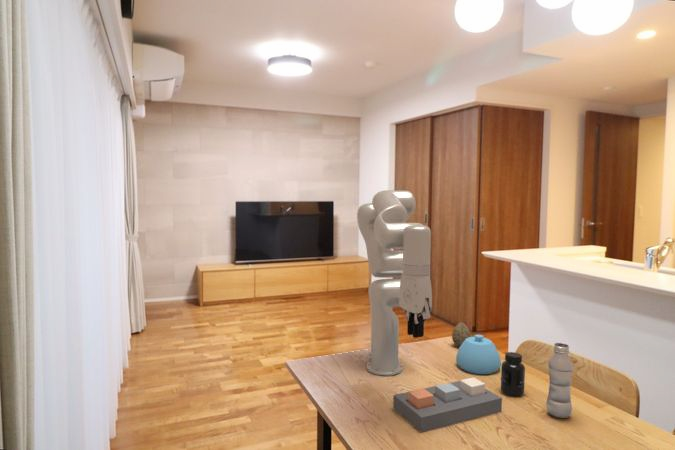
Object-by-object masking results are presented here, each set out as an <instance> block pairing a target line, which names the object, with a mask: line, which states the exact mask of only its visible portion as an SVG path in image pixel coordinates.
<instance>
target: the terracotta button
mask: <svg viewBox="0 0 675 450" xmlns="http://www.w3.org/2000/svg"><path fill="white" fill-rule="evenodd" d="M407 392H408V402H409V403H410V404H411V405H413V406H414V407H415V408H416V409H422V408H426V407H431V406H434V395H432V394H431V393H429V392H428V391H427V390H425V389H424V388H423V387H422V388H418V389H412V390H409V391H407Z"/></svg>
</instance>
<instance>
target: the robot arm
mask: <svg viewBox="0 0 675 450" xmlns="http://www.w3.org/2000/svg"><path fill="white" fill-rule="evenodd" d="M371 201H372V202H368V203H363V204H361V205H360V206H359V207H358V209H357V213H356V217H357V218H356V220H357V225H358V229H359V232H360V234H361V236H362V238H363V240H364V243H365V248H366V256H367V260H368V261H367V262H368V269H369V273H370V274H371V276H373V277H374V278H380V279H376V280H373V281H372V282H371V283H370V284H369V286H368V297H369V304H370V306H369V307H370V352H368V356H370V361H368V362H367V364H366V370H367V371H368V372H369V373H371V374H374V375H377V376H383V377H385V376H387V377H389V376H396V375H398V374H400V373H402V372H403V368H404V366H403V364H402V363H401V362H399V330H400V328H399V327H400V326H399V325H400V321H399V317H398V316H397V314H396V313H395V312H394V311H393V309H392V308H397V307H400V308H401V309H402V310H403V311H404V312H405V315H406V320H407V332H406V333H407V335H408V336H411V335H412V337H413V338H414V339H416V338H422V337H424V335H425V334H424V333H425V328H424V327H425V323H426V320H429V319H431V317H432V315H431V312H432V308H433V292H432V291H433V289H432V281H431V249H432V248H431V245H432V243H431V241H432V238H431V237H432V232H431V228H430V227H429V226H428V225H424V224H422V223H420V222H407V221H408V219H410V217H412V215H413V214H414V212H415V210H416V205H417V203H416V198H415V196H414V195H413V193H412V192H411V191H409V190H396V189H395V190H387V189H386V190H381V191H378V192H377V193H375V194H374V195H373V197H372V200H371ZM394 249H395V250H394ZM397 249H398V250H397ZM399 249H400V250H399ZM381 278H382V279H381Z"/></svg>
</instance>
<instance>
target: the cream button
mask: <svg viewBox="0 0 675 450" xmlns="http://www.w3.org/2000/svg"><path fill="white" fill-rule="evenodd" d="M459 381H460V390H461V391H462V392H464V393H466V394H467V395H469V396H470V397H473V396H478V395H482V394H485V389H486V383H484V382H483V381H482V380H479V379H477V378H475V377H469V378H465V379H461V380H459Z"/></svg>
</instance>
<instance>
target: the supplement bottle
mask: <svg viewBox="0 0 675 450" xmlns="http://www.w3.org/2000/svg"><path fill="white" fill-rule="evenodd" d="M504 356H505V357H504V361H503V362H501V366H500V369H501V371H500V391H501V392H502V394H503V395H506V396H509V397H514V398H516V397H518V398H519V397H522V396H523V395H524V394H525V383H526V382H525V381H526V379H525V378H526V367H525V364H524V363H523V355H522V354H521V353H518V352H513V351H509V352H508V351H507V352H505V355H504Z"/></svg>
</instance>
